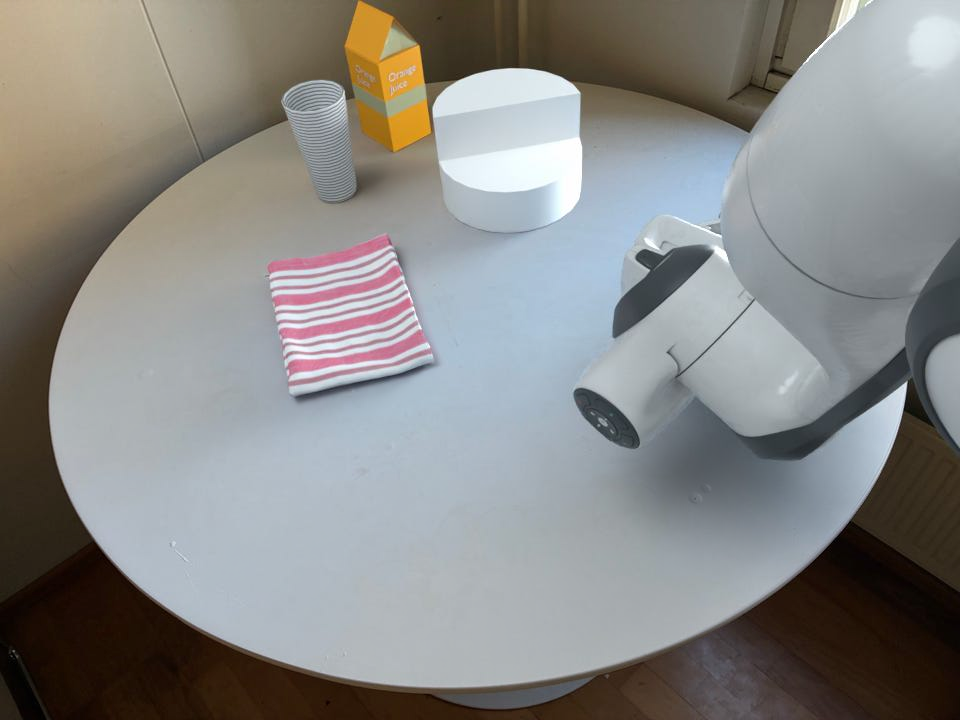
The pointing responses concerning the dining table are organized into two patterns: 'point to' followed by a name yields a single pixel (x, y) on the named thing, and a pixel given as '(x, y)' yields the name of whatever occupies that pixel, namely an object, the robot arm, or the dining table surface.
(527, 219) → the stepped white cylinder
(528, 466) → the dining table surface
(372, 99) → the orange juice
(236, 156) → the dining table surface
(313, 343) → the dish towel
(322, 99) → the cup
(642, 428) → the robot arm
